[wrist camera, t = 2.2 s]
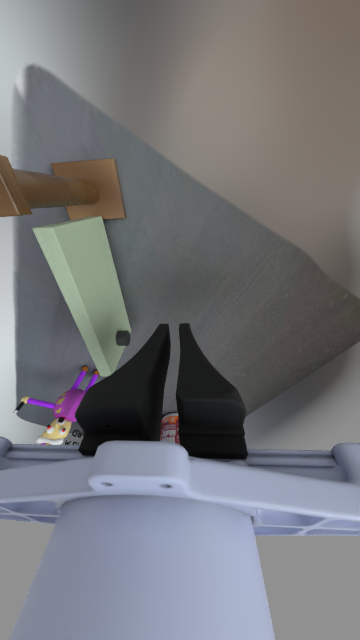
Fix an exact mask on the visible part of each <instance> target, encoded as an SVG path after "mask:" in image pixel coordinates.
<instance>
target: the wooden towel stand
mask: <svg viewBox="0 0 360 640" xmlns="http://www.w3.org/2000/svg"><path fill="white" fill-rule="evenodd" d="M51 166H52V169H53V172H54V175H50V174H44V173H38V172H31V171H25V170H19V169H13V168H12V167H11V165H10V162H9V160H8V158H7V157H6V156H2V155H0V217H6V216H21V215H30V214H32V212H31V210H30V209H35V208H49V207H62V206H65V207H66V209H67V212H68V215H69V218H70V220H75V219H80V218H85V217H93V216H102V219H103V220H105V219H123V218H126V213H125V208H124V203H123V198H122V193H121V187H120V182H119V177H118V172H117V166H116V161H115V160H114V159H102V160H89V161H75V162H62V163H51Z"/></svg>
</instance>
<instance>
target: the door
mask: <svg viewBox="0 0 360 640" xmlns="http://www.w3.org/2000/svg"><path fill="white" fill-rule="evenodd" d="M32 229H33V232H34V234H35V236H36V238H37V240H38V242H39V244H40V247H41V249H42V251H43V253H44V255H45V257H46V260H47V262H48V264H49V266H50V268H51V270H52V273H53V275H54V277H55V279H56V281H57V283H58V286H59V288H60V290H61V292H62V294H63V296H64V298H65V301H66V303H67V305H68V307H69V309H70V311H71V314H72V316H73V318H74V320H75V322H76V324H77V327H78V329H79V331H80V333H81V335H82V337H83V340H84V342H85V344H86V346H87V348H88V350H89V352H90V355H91V357H92V359H93V361H94V363H95V365H96V368H97V370H98V372H99V374H100V376H109V375H111V374H112V373H114V371H115V369H116V367H117V364H118V362H119V360H120V357H121V355H122V352H123V350H124V348H125V346H128V345H129V343H130V333H131V328H130V324H129V320H128V316H127V312H126V309H125V305H124V301H123V297H122V293H121V289H120V285H119V281H118V278H117V274H116V270H115V266H114V262H113V258H112V254H111V250H110V246H109V243H108V239H107V235H106V231H105V227H104V223H103V219H102V216H93V217H85V218H80V219H75V220H70V221H65V222H60V223H55V224H51V225H46V226H41V227H36V228H32Z"/></svg>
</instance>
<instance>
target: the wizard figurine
mask: <svg viewBox="0 0 360 640" xmlns="http://www.w3.org/2000/svg"><path fill="white" fill-rule="evenodd" d="M87 371H88V367H86V366H84V367H83V368H82V372H81V373H80V375H79V377H78V378H77V380H76V382H75V383H74V385H73V387H72V388H71V390H69V391H66V392H65V393H63V394H62V395H61V396H60V397H59V398H58V399H57V401H56V403H55V404H53V403H49V402H45V401H40V400H36V399H32V398H30V397H28V396H25V397H23V398H22V399H21V403H20V405H19V406H18V407H17V408H16V409H15V411H14V412H13V413H17V412H18V411H19V410H20V408H21V407H22V406H23V405H24V404H25V403H31V404H35V405H40V406H44V407H48V408H52V409H54V410H53V412H54V416H55V418H56V419H55V420H54V421H53V422H52V423H51V425H48V426H47V430H46V431H45V432H44V433H43V434H42V435H41V436H40V437H38V438H37V439H36V442H37V443H39V444H41V445H60V444H62V443H63V441H64V440H63V439H64V438H65V437H66V436H67V434H68V433H69V430H70V428H71V423H73V422H75V421H77V420H76V418H75V412H76V410H77V408H78V406H79V404H80V402H81V400H82V398H83V397H84V395H85V393H86V392H87V390H88V388H89V387H91V386H93V384H94V382H95V380H96V378H97V376H98V375H99V372H98V370H95V371H94V375H93V377H92V379H91V381H90V382H89V384H88V386H87V388H86V390H85V391H83V390H81V389H77V387H78V386H79V384H80V382H81V380H82V379H83V377H84V375H85V373H86V372H87ZM75 431H77V433H78V430H74V431H73V433H74V432H75ZM73 433H72V435H73ZM77 433H76V435H77ZM82 433H83V431H82ZM82 433H80V431H79V434H78V437H79V438H80V437H81V436H79V435H82ZM76 435H73V436H74V437H76ZM84 435H85V433H84ZM84 435H83V437H84ZM66 441H67V440H66ZM70 442H71V441H70ZM70 442H69V443H70ZM69 443H68V442H66V443H65V445H66V444H67V445H68V444H69ZM74 443H76V442H73V445H74ZM76 444H77V443H76ZM78 444H79V443H78Z"/></svg>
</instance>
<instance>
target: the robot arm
mask: <svg viewBox="0 0 360 640" xmlns="http://www.w3.org/2000/svg"><path fill="white" fill-rule="evenodd" d="M179 335H180V350H181V353H180V364H179V374H178V382H177V390H176V400H177V410H178V419H179V420H178V435H179V442H180V445H179V444H176V443H171V442H161V441H160V436H161V421H162V407H163V396H164V386H165V381H166V375H167V370H168V365H169V359H170V348H171V343H170V334H169V325H168V324H160V325H159V326H158V327H157V329H156V330H155V332H154V333H153V335H152V336H151V337H150V339H149V340H148V341H147V342H146V344H145V345H144V346H143V347H142V348H141V349H140V350H139V351H138V353H137V354H136V355H135V356H134V357H132V358H131V359H130V360H129V361H128V362H127V363H126V364H124V365H123V366H122V367H121V368H119V369H118V370H117V371H115V372H114V373H112V374H111V375H109V376H108V377H106V378H105V379H103V380H102V381H100V382H98V383H96V384H95V385H93V386H91V387H89V388H88V390H87V392H86V393H85V395H84V397H83V398H82V400H81V402H80V404H79V406H78V408H77V410H76V412H75V418H76V420H77V422H78V423H79V425H80V426H81V428H82V429H83V430H84V432H85V435H84V437H83V440H82V442H81V445H38V444H35V445H34V444H12V443H11V442H10V441H9V440H8V439H6V438H4V437H0V519H5V520H16V521H27V522H36V523H45V524H55V527H54V529H53V532H52V534H51V537H50V539H49V541H48V544H47V546H46V549H45V552H44V554H43V556H42V559H41V561H40V564H39V566H38V569H37V571H36V574H35V576H34V579H33V581H32V584H31V586H30V588H29V591H28V593H27V596H26V598H25V601H24V603H23V606H22V608H21V611H20V613H19V616H18V619H17V621H16V623H15V626H14V628H13V631H12V633H11V636H10V638H9V640H275V636H274V631H273V626H272V621H271V616H270V611H269V606H268V601H267V595H266V591H265V586H264V580H263V575H262V570H261V565H260V560H259V555H258V550H257V545H256V539H255V536H257V535H258V536H260V535H261V536H263V535H264V536H267V535H345V536H360V443H340V444H337V445H335V446H334V447H333V448H332V450H331V451H321V450H320V451H318V450H274V449H273V450H272V449H247V447H246V443H245V438H244V435H245V432H244V428H243V423H244V419H245V417H246V409H245V406H244V403H243V401H242V398H241V396H240V394H239V392H238V390H237V389H236V388H235V387H234V386H233V385H232V384H230V383H229V382H228V381H227V380H226V379H225V378H224V377H223V376H222V375H221V374H220V373H219V372H218V371H217V370H216V369H215V368H214V367H213V366H212V365H211V363H210V362H209V361H208V360H207V358H206V357H205V356H204V354H203V353H202V351H201V350H200V348H199V346H198V344H197V343H196V341H195V339H194V336H193V334H192V331H191V328H190V324H188V323H185V324H180V326H179Z"/></svg>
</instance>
